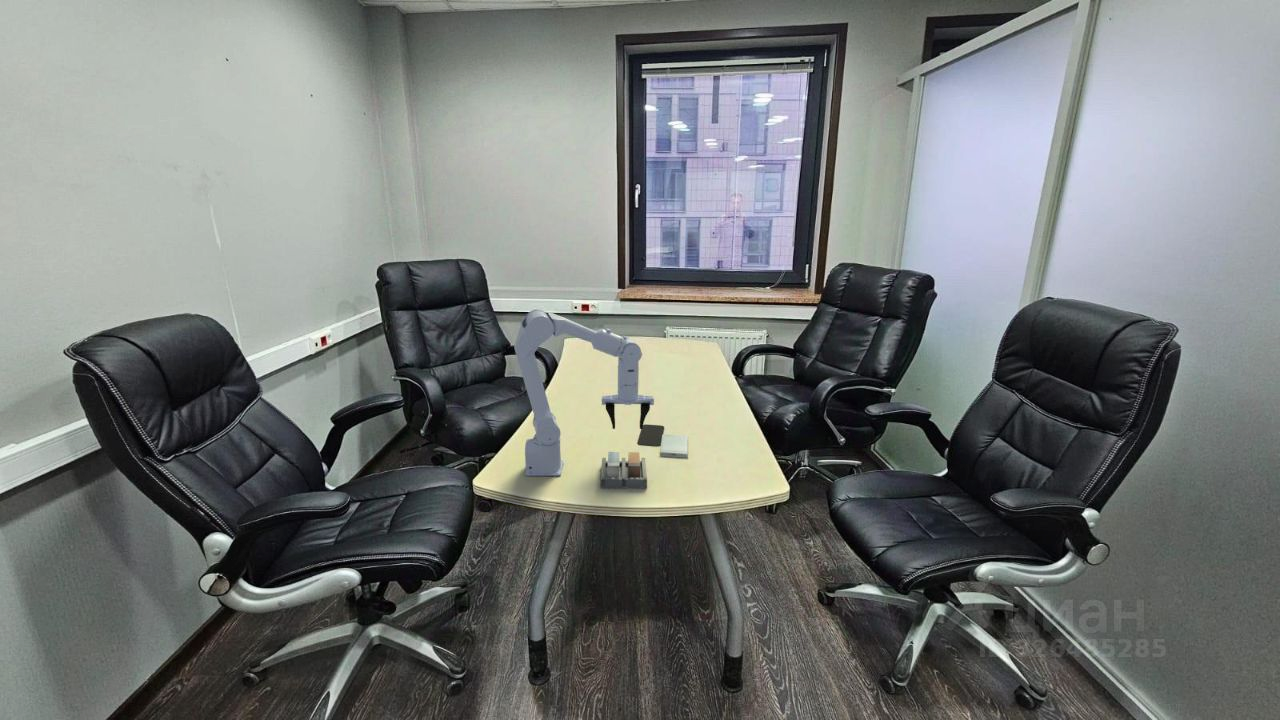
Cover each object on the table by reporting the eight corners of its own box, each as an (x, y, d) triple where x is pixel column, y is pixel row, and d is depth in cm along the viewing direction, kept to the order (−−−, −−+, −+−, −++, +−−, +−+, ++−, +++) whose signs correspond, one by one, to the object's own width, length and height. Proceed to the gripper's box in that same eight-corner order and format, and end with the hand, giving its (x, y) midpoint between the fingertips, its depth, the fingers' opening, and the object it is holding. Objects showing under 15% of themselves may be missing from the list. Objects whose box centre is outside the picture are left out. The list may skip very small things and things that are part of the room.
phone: (636, 444, 160) (642, 424, 174) (636, 446, 160) (642, 426, 175) (660, 446, 159) (664, 425, 173) (660, 448, 160) (664, 427, 174)
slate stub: (607, 481, 138) (607, 465, 137) (608, 466, 146) (608, 451, 144) (619, 481, 138) (619, 465, 137) (619, 466, 146) (619, 451, 144)
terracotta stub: (628, 481, 138) (628, 465, 137) (628, 466, 146) (628, 451, 144) (640, 481, 138) (640, 465, 137) (639, 466, 146) (639, 451, 145)
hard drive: (662, 434, 165) (660, 451, 153) (688, 435, 164) (688, 453, 153) (662, 438, 166) (659, 456, 154) (688, 440, 165) (687, 458, 153)
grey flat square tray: (600, 488, 136) (600, 479, 135) (602, 465, 147) (602, 457, 146) (646, 488, 136) (647, 479, 135) (644, 465, 148) (645, 457, 147)
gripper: (601, 387, 140) (601, 433, 144) (655, 387, 141) (653, 433, 145) (602, 378, 147) (602, 423, 151) (653, 379, 148) (652, 423, 152)
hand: (627, 427), depth 148 cm, fingers open, 7 cm apart
